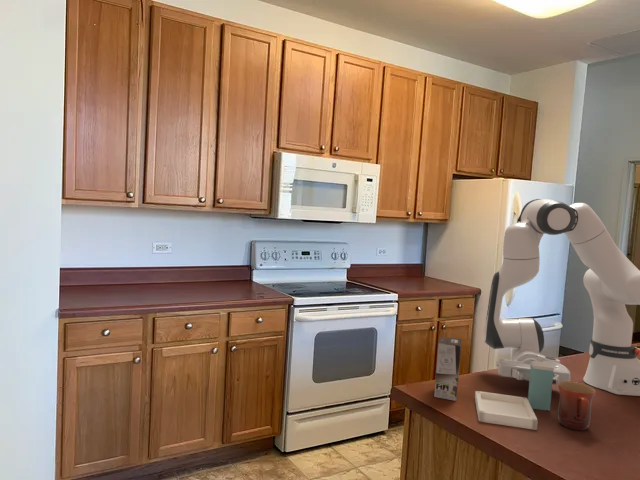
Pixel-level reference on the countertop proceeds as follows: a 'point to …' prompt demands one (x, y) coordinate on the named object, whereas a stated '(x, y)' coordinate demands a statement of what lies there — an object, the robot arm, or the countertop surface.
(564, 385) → the mug
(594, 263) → the robot arm
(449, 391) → the coffee box
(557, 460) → the countertop surface
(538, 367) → the tea tin
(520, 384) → the countertop surface
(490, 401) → the tray
